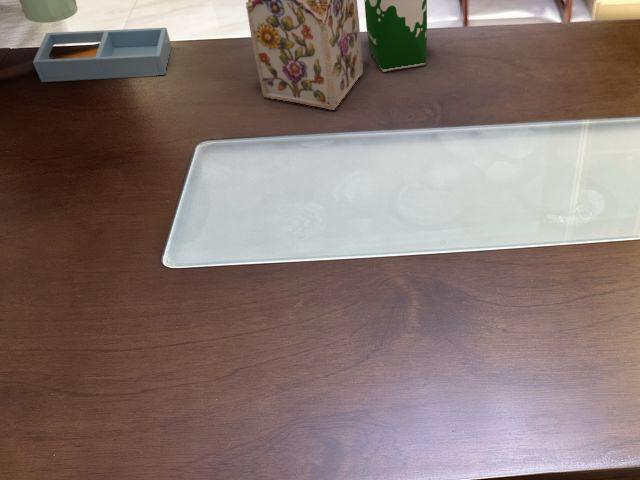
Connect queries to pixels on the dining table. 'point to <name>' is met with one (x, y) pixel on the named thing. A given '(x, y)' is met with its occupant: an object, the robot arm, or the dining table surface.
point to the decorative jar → (306, 49)
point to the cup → (48, 10)
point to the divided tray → (104, 55)
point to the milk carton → (397, 31)
